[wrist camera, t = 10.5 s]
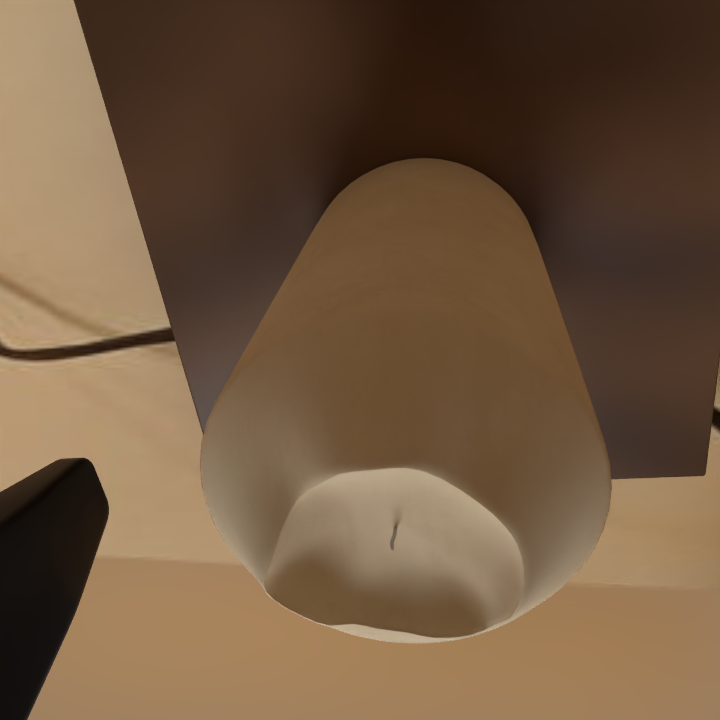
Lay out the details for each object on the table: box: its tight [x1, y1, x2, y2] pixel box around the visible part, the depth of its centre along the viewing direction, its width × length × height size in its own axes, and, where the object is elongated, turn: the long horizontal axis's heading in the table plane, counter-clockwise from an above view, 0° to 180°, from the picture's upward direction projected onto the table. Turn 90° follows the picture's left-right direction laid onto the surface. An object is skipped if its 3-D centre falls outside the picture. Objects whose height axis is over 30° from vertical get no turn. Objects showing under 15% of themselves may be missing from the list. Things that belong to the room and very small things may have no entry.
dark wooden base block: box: [74, 0, 720, 479], centre depth 17 cm, size 14×14×2 cm
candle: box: [200, 158, 612, 643], centre depth 12 cm, size 6×6×10 cm
